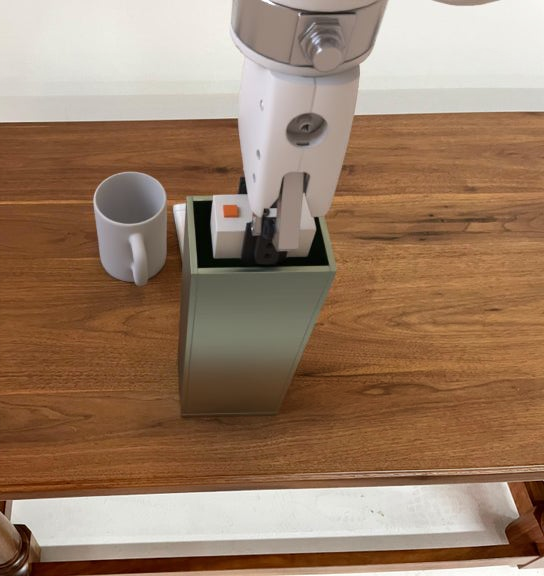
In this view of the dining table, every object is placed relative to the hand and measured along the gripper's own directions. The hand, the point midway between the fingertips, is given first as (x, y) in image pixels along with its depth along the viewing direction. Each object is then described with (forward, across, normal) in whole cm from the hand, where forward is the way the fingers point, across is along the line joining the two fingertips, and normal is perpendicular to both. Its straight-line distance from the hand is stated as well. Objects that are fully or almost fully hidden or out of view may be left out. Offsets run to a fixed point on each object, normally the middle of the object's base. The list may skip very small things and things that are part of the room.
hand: (259, 235), depth 45 cm
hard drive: (+27, +20, 0) cm, 33 cm away
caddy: (+26, 0, 0) cm, 26 cm away
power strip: (0, 0, 0) cm, 0 cm away
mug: (+27, +17, +10) cm, 33 cm away
